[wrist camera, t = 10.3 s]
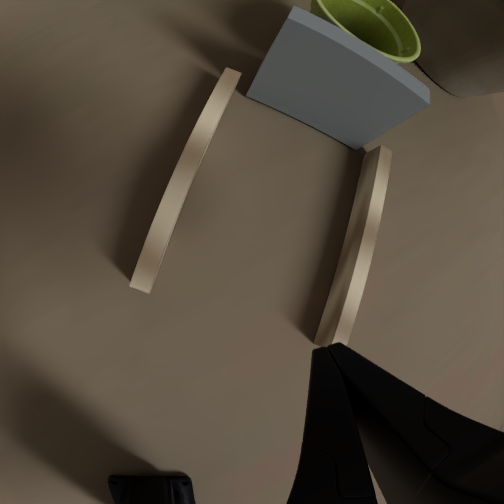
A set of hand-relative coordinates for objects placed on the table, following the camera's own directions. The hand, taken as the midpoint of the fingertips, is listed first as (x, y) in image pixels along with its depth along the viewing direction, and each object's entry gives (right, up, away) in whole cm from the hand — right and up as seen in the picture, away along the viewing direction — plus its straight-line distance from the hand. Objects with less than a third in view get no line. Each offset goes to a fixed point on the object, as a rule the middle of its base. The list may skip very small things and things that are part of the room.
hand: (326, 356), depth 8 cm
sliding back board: (+3, +15, +15) cm, 21 cm away
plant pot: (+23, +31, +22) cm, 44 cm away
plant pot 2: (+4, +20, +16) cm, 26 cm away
